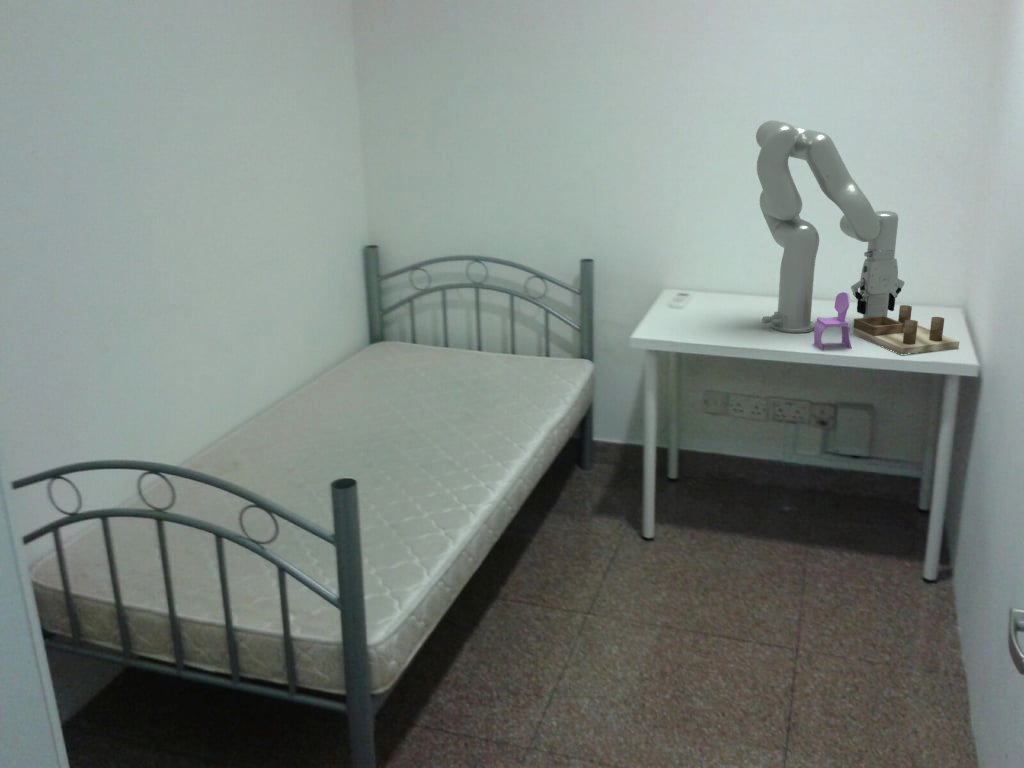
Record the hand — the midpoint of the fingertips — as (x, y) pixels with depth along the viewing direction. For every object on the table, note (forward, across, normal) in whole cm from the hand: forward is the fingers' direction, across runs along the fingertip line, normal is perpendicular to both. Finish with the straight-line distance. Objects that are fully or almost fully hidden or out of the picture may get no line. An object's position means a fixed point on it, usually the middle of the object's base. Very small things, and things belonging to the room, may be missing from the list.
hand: (875, 311), depth 289 cm
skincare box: (+4, 0, 0) cm, 4 cm away
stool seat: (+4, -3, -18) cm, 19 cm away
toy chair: (+4, -24, -15) cm, 29 cm away
